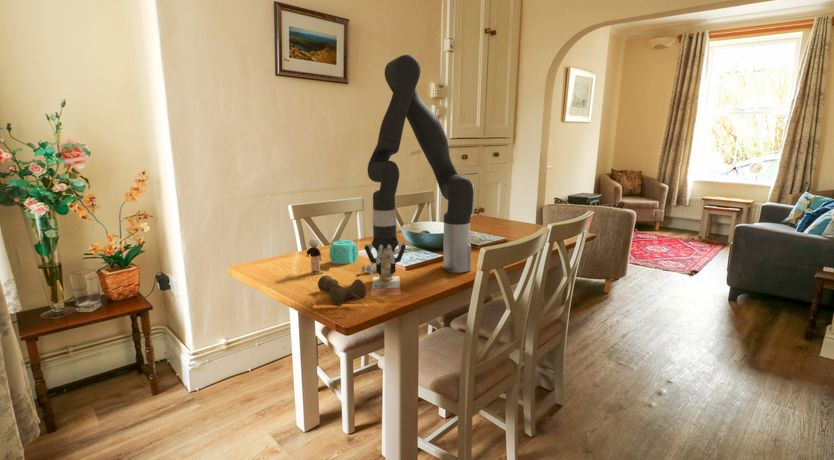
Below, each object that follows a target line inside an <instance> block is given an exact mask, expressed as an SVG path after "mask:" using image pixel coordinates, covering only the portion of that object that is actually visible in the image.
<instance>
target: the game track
mask: <svg viewBox="0 0 834 460" xmlns="http://www.w3.org/2000/svg"><path fill="white" fill-rule="evenodd" d="M371 284H372V285H371V294H370V296H371V297H374V296H375V297H376V296H378V297H379V296H401V280H400V275H393V280H391V281H381V280H380V278H379V276H373V277H372V283H371Z"/></svg>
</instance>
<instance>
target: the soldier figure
mask: <svg viewBox="0 0 834 460" xmlns="http://www.w3.org/2000/svg"><path fill="white" fill-rule="evenodd" d="M374 264H375V263H371V262H370V263H369V264H368V265H367V266H361V273H365V271H366V272H367V273H368V274H369V275H374V274H378V273H377V272H376V265H374ZM395 266H397V265H396V264H395ZM396 271H397V268H395V272H396Z"/></svg>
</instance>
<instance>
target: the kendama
mask: <svg viewBox="0 0 834 460" xmlns="http://www.w3.org/2000/svg"><path fill="white" fill-rule="evenodd" d="M317 287H318V289H319V290H320V291H322V290H325V291H326V292H327V293H329V298H330V301H331V302H332V303H333V305H334V306H336V307H339V306H341V305H342V304H343V303H344V301H346V300H348V299H351V298H353V299H354V298H355V299H356V300H359V299H361V298H366V296H367V290H366V286H365V284H364V282H363V281H362V280H361V279H358V278H357V279H354V281H353V282H352V283H351V284H350V285H349V286H345V287H343V286H341V285H340V284H339V281H338V280H337V279H335V278H332V277H331V275H322V276H321V277H320V278H319V279H318V281H317Z"/></svg>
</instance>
